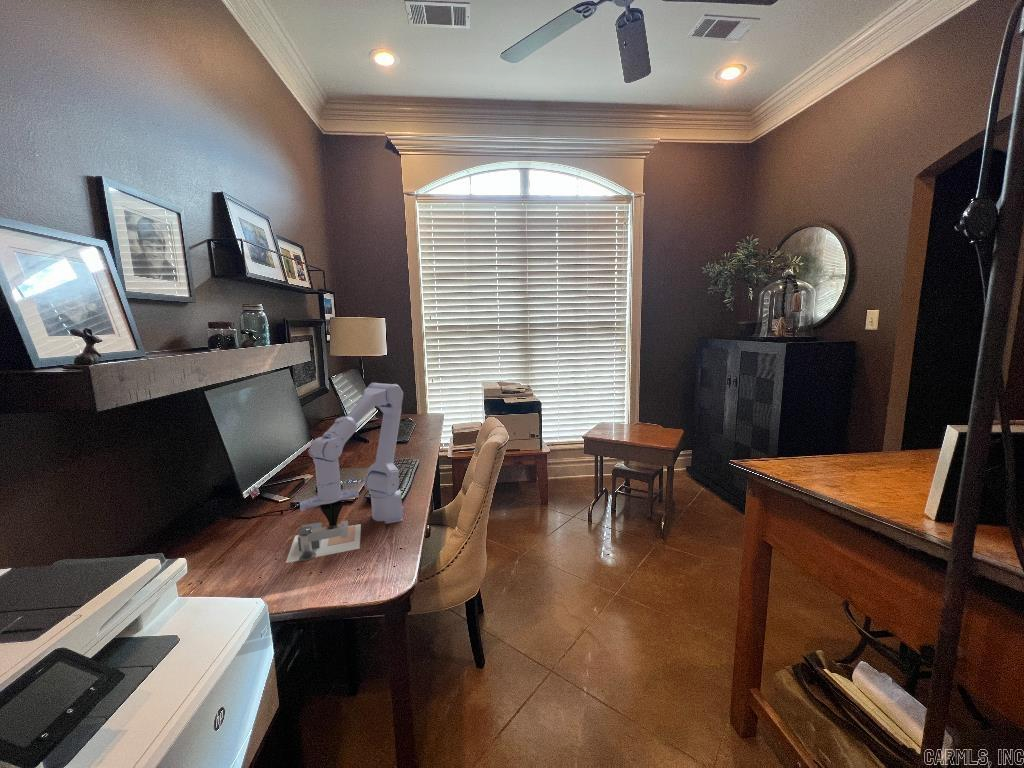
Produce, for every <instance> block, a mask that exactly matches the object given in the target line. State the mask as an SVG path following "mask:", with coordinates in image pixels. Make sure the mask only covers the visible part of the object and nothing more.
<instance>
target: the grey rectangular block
mask: <svg viewBox="0 0 1024 768" xmlns="http://www.w3.org/2000/svg"><path fill="white" fill-rule="evenodd" d="M307 526H309V527H311V528H312V529H317V528H322V522H314V523H309V524H308V523H307V524H303V525H301V528H302V527H307ZM298 544H299V551H302V549H301V540H300V535H299V536H298ZM320 544H321V540H317V541H312V542H311V545H312V549H315V548H320Z"/></svg>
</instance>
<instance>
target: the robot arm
mask: <svg viewBox="0 0 1024 768" xmlns="http://www.w3.org/2000/svg"><path fill="white" fill-rule="evenodd" d="M403 399H404V391H403V390H402V388H401V386H400V385H399V384H397V383H393V384H392V383H380V382H371V383H370V384H369V385H368V386H367V387H366V388H365V389H364V390H363V396H362V397H361V398H360V399H359V401H358V402H357V403H356V404H355V406H354V407H353V408H352V409H351V410H350V412H348V414H347V416H340V417H339V418H338V417H337V418H336V419H335V420H334V423H333V424H332V425H331V426H330V427H329V428H328V429H327V430H326V431H325V432H324V433H323V434H322V436H319V437H317V438H315V439H314V440H313V441H312V442H310V443H311V444H310V446H309V449H307V452H308V453H307V454H308V455H309V456H310V457H311V459H312V460H313V464H314V468H315V477H316V479H315V480H316V487H317V489H316V490H317V496H314V497H311V498H309V499H306V500H303V501H299V509H300V512H305V511H307V510H308V509H309V510H310V509H312V508H317V507H319V508H320V511H321V513H322V514H323V515H324V516H325V517H326V520H327V522H328V526H333V525H338V519H339V516H340V513H341V511H342V508H343V501H344V500H348V499H352V498H353V499H354V498H355V499H356V498H359V497H360V491H359V489H358V488H357V487H355V488H351V489H343V490H342V485H341V475H340V474H341V473H340V464H339V463H340V461H339V458H340V457H341V455H342V454H343V449H344V447H345V444H346V443H347V442H348V441H349V439H350V438H351V437H352V436H353V434H355V432H357V429H358V426H357V424H358V423H359V422H360V421H361V420H362V419H364V417H365V416H367V414H368V413H370V411H371V410H373V409H374V408H375V407H377V408H378V409H380V411H381V412H382V421H381V427H380V433H379V439H378V445H377V452H376V457H375V462H374V463H373V464H371V465H369V467H368V471H367V473H366V475H365V477H364V480H363V481H364V482H363V483H364V484H363V485H364V487H365V489H366V490H368V493H369V494H370V502H371V503H370V504H371V516H372V520H374V521H376V522H384V525H388V524H392V523H398V522H399V523H400V522H403V521H404V519H403V517H404V516H403V515H404V514H403V512H404V506H403V503H402V502H403V501H402V493H401V492H402V491H401V490H400V489H399V486H400V478H399V476H400V475H399V474H400V470H399V468H397V466H396V465H395V463H394V461H395V454H396V447H397V440H398V435H399V429H400V422H401V415H402V406H403Z"/></svg>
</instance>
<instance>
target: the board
mask: <svg viewBox="0 0 1024 768" xmlns="http://www.w3.org/2000/svg"><path fill="white" fill-rule="evenodd" d="M361 530H362V524H361V523H359V524H355V525H354V524H352V525H348V537H347V538H342V539H341V536H338V537H332V538H327V539H322V540H321V544H320V548H315V549H312V556H311V557H309V558H302V551H299V544H298V536H299V535H298V534H297V535H294V538H293V540H292V544H291V547H290V549H289V552H288V555H287V557H286V560H285V564H290V563H294V562H298V561H300V562H307V561H311V560H312V559H314V558H319V557H323V556H324V557H325V556H329V555H334V554H340V553H343V552H345V553H346V552H349V551H355V550H359V549H361V532H362V531H361Z"/></svg>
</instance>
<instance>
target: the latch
mask: <svg viewBox="0 0 1024 768" xmlns="http://www.w3.org/2000/svg"><path fill="white" fill-rule="evenodd" d="M348 526H349V521H348V519H347V520H341V521H340V523H339V524H338V523H337V525H333V526H329V525H327V526H323V527H322V528H317V529H312V528H311V527H309V526H307V527H302V526H301V527H302V528H299V529H298V530H297V535H300V540H301V549H302V558H309V557H311V556H312V545H311V542H312V541H317V540H322V539H327V538H332V537H338V536H341V539H342V538H347V537H348Z"/></svg>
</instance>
